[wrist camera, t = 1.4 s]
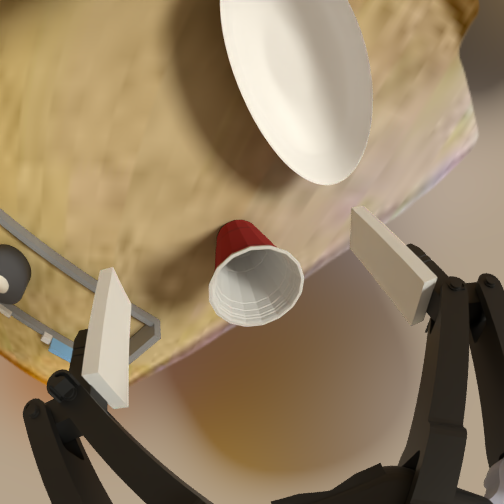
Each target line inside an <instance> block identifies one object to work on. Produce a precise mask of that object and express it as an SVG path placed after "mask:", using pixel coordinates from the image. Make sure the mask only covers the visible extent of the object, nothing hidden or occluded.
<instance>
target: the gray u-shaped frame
mask: <svg viewBox="0 0 504 504" xmlns="http://www.w3.org/2000/svg"><path fill="white" fill-rule="evenodd" d="M0 225H2V226H3V227H4V228H5V229H7V230H8V231H9V232H10V233H12V234H13V235H14V236H15V237H17V238H18V239H19V240H21V241H22V242H23V243H24V244H26V245H27V246H28V247H30V248H31V249H32V250H34V251H35V252H36V253H38V254H39V255H40V256H42V257H43V258H45V259H46V260H47V261H49V262H50V263H51V264H53V265H54V266H56V267H57V268H59V269H60V270H61V271H63V272H64V273H66V274H67V275H69V276H70V277H72V278H73V279H74V280H76V281H77V282H79V283H80V284H82V285H83V286H85V287H86V288H88V289H90V290H91V291H93V292H94V293H95V291H96V287H97V282H98V281H97V280H95V279H94V278H92V277H91V276H89V275H88V274H86V273H85V272H83V271H82V270H81V269H79V268H78V267H76V266H75V265H73V264H72V263H71V262H69V261H68V260H66V259H65V258H64V257H62V256H61V255H59V254H58V253H57V252H55V251H54V250H53V249H51V248H50V247H48V246H47V245H46V244H44V243H43V242H42V241H40V240H39V239H38V238H37V237H35V236H34V235H33V234H31V233H30V232H29V231H27V230H26V229H25V228H24V227H22V226H21V225H20V224H19V223H17V222H16V221H15V220H14V219H12V218H11V217H10V216H9V215H8V214H6V213H5V212H4V211H3V210H2V209H0ZM130 303H131V302H130ZM0 312H1V313H2V314H4V315H5V316H7V317H8V318H10V316H13V317H14V318H16V319H17V320H19V321H20V322H22V323H24V324H25V325H27V326H28V327H30V328H32V329H33V330H35V331H36V332H38V333H40V334H41V335H42V337H41V341H43V342H44V343H46V344H49V343H50V346H49V350H48V351H50V352H52V353H53V354H55V355H57V356H59V357H61V358H62V359H64V360H66V361H68V362H71V357H72V350H73V345H74V342H73V341H71V340H69V339H67V338H66V337H64V336H62V335H60V334H59V333H57V332H55V331H54V330H52V329H50V328H49V327H47V326H45V325H44V324H42V323H41V322H39V321H37V320H36V319H34V318H33V317H31V316H30V315H28V314H26V313H25V312H23V311H22V310H20V309H19V308H17V307H16V306H14V305H13V304H3V303H0ZM131 316H133V317H135V318H136V319H138V320H140V321H141V322H143V323H145V324H146V325H145V326H144V327H142V328H141V329H140V330H139V331H138V332H137V333H136V334H135V335H134V336H132V337H131V338H130V339H129V364H131V363H132V362H133V361H134V360H135V359H137V358H138V357H139V356H140V355H141V354H143V353H144V352H145V351H146V350H147V349H149V348H150V347H151V346H152V345H153V344H155V343H156V342H157V341H158V340H159V339H161V333H160V320H159V319H157V318H155V317H154V316H152V315H150V314H149V313H147V312H145V311H144V310H142V309H141V308H139V307H137V306H136V305H134V304H132V303H131Z"/></svg>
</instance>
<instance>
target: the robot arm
mask: <svg viewBox="0 0 504 504" xmlns="http://www.w3.org/2000/svg"><path fill="white" fill-rule="evenodd" d="M350 249H351V250H352V252H353V253H354V254H355V255H356V256H357V258H358V259H359V260H360V261H361V263H362V264H363V265H364V266H365V268H366V269H367V270H368V271H369V272H370V274H371V275H372V276H373V277H374V279H375V280H376V281H377V282H378V284H379V285H380V286H381V288H382V289H383V290H384V291H385V293H386V294H387V295H388V296H389V298H390V299H391V300H392V302H393V303H394V304H395V306H396V307H397V308H398V309H399V311H400V312H401V314H402V315H403V316H404V318H405V319H406V320H407V322H408V323H409V324H410V325H411V326H413V325H415V324H417V323H419V322H422V321H423V320H424V317H425V314H426V312H427V313H428V315H429V316H430V317H431V318H430V320H429V323H428V325H427V329H426V331H425V332H427V331H428V335H427V343H426V351H425V358H424V364H423V371H422V377H421V383H420V388H419V393H418V398H417V404H416V408H415V412H414V417H413V421H412V425H411V429H410V434H409V437H408V441H407V445H406V447H405V450H404V452H403V454H402V456H401V458H400V461H399V464H398V466H384V467H382V465H381V463H379V464H377V465H375V466H373V467H370V468H368V469H366V470H363V471H361V472H359V473H356V474H354V475H353V476H352V477H350V478H349V479H347V480H346V481H344V482H343V483H341V484H340V485H338V486H337V487H335V488H334V489H333V490H330V491H325V492H315V493H303V494H297V495H293V496H290V497H286V498H283V499H279V500H275V501H271V504H504V290H503V287H502V285H501V283H500V281H499V280H498V279H497V278H496V277H495V276H493V275H491V274H487V273H486V274H482V275H480V276H479V279H478V281H477V282H474V283H465V282H464V281H463V280H461V279H460V278H457V277H451V276H450V277H448V276H447V275H446V274H445V273H444V272H443V271H442V270H441V269H440V268H439V267H438V266H437V265H436V263H435V262H434V261H432V260H431V259H430V258H429V257H428V256H426V254H425V253H424V252H423V251H422V250H421V249H420V248H419V247H417V246H415V245H413V244H408V245H405V244H404V243H403V242H402V241H401V240H400V239H399V238H398V237H397V236H396V235H395V234H394V233H392V231H391V230H390V229H388V228H387V227H386V226H385V225H384V224H383V223H382V222H381V221H380V220H379V219H378V218H377V217H376V216H375V215H373V214H372V213H371V212H370V211H369V210H368V209H367V208H366V207H365V206H363V205H362V206H358V207H353V208H351V234H350ZM130 319H131V303H130V301H129V299H128V297H127V295H126V293H125V291H124V289H123V287H122V285H121V283H120V281H119V279H118V276H117V274H116V272H115V270H114V268H113V267H111V268H107V269H103V270H100V273H99V278H98V282H97V287H96V291H95V296H94V301H93V306H92V311H91V316H90V322H89V327H88V329H85V330H80V331H79V333H78V334H77V336H76V338H75V340H74V345H73V350H72V357H71V362H70V368H69V371H67V370H63V369H62V370H58V371H56V372H55V373H53V374H52V375H51V377H50V378H49V380H48V382H47V391H48V393H49V394H50V395H51V396H52V397H53V398H54V399H53V400H50V401H48V402H46V403H44V402H43V401H41V400H40V399H32V400H30V401H29V402H28V403H27V404H26V406H25V407H24V411H23V418H24V423H25V426H26V430H27V434H28V438H29V441H30V444H31V448H32V451H33V454H34V457H35V460H36V463H37V466H38V469H39V472H40V474H41V477H42V480H43V483H44V486H45V488H46V491H47V493H48V496H49V498H50V500H51V503H52V504H113V503H112V502H111V500H110V498H109V497H108V495H107V493H106V491H105V489H104V488H103V486H102V484H101V482H100V480H99V478H98V476H97V474H96V472H95V470H94V468H93V466H92V465H91V462H90V460H89V458H88V456H87V454H86V452H85V449H84V447H83V445H82V443H81V440H80V438H79V437H81V436H84V437H85V438H86V439H87V441H88V442H89V443H90V444H91V445H92V447H93V448H94V449H95V450H96V451H97V452H98V454H99V455H100V456H101V457H102V458H103V459H104V461H105V462H106V463H107V464H108V465H109V466H110V467H111V468H112V470H113V471H114V472H115V473H116V474H117V475H118V476H119V477H120V478H121V479H122V480H123V481H124V482H125V483H126V484H127V485H128V486H129V487H130V488H131V489H132V490H133V491H134V492H135V493H136V494H137V495H138V496H139V497H140V498H141V499H142V500H143V501H144V502H145V503H146V504H213V503H212V502H211V501H209V500H207V499H206V498H205V497H204V496H202V495H201V494H200V493H198V492H197V491H196V490H194V489H193V488H192V487H190V486H189V485H188V484H186V483H185V482H184V481H182V480H181V479H180V478H179V477H178V476H176V475H175V474H174V473H173V472H172V471H170V470H169V469H168V468H167V467H166V466H164V465H163V464H162V463H161V462H160V461H159V460H157V459H156V458H155V457H154V456H153V455H152V454H151V453H150V452H149V451H147V450H146V449H145V448H144V447H143V446H142V445H141V444H140V443H139V442H138V441H137V440H135V438H133V437H132V436H131V434H129V433H128V432H127V431H126V430H125V429H124V428H123V427H122V426H121V425H120V423H119V422H117V420H115V418H114V417H113V416H112V415H111V414H110V413H109V412H108V411H107V403H108V404H109V405H110V406H111V407H112V408H113V409H117V408H124V407H129V401H128V376H129V339H130ZM469 345H470V349H471V354H472V359H473V363H474V368H475V373H476V379H477V384H478V390H479V396H480V402H481V409H482V417H483V426H484V435H485V446H486V454H487V459H488V464H489V468H490V469H489V471H488V473H487V476H486V478H485V480H484V487H485V488H486V494H485V496H484V497H483V496H480V495H477V494H474V493H471V492H468V491H465V490H462V489H460V488H457V484H458V480H459V476H460V471H461V467H462V462H463V456H464V451H465V445H466V439H467V430H466V429H465V428H464V427H463V419H464V411H465V403H466V402H465V401H466V391H467V379H468V362H469Z"/></svg>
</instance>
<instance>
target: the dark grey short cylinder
mask: <svg viewBox="0 0 504 504" xmlns="http://www.w3.org/2000/svg"><path fill="white" fill-rule="evenodd" d="M30 277H31V268H30V265H29V262H28V261H27V259H26V257H25V256H24V255H23V254H22V253H21V252H20V251H19V250H18V249H16V248H14V247H12V246H10V245H5V244H1V245H0V303H3V304H15V303H17V302H19V301H20V299H21V298H22V296H23V294H24V291H25V289H26V287H27V285H28V282H29V280H30Z"/></svg>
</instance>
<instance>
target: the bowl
mask: <svg viewBox="0 0 504 504" xmlns="http://www.w3.org/2000/svg"><path fill="white" fill-rule="evenodd" d="M220 16H221V25H222V32H223V37H224V42H225V46H226V51H227V54H228V58H229V62H230V65H231V68H232V71H233V74H234V77H235V80H236V82H237V85H238V87H239V90H240V92H241V95H242V97H243V99H244V101H245V103H246V106H247V108H248V110H249V112H250V114H251V115H252V117H253V119H254V121H255V123H256V125H257V126H258V128H259V130H260V131H261V133H262V134H263V136H264V137H265V139H266V140H267V142H268V143H269V145H270V146H271V147H272V149H273V150H274V151H275V152H276V154H277V155H278V156H279V157H280V158H281V159H282V161H283V162H284V163H285V164H286V165H287V166H288V167H290V168H291V169H292V170H293V171H294V172H295V173H297V174H298V175H299V176H301V177H303V178H304V179H306V180H308V181H310V182H313V183H316V184H320V185H332V184H336V183H339V182H341V181H343V180H344V179H346V178H347V177H348V176H349V175H350V174H351V173H352V172H353V171H354V170H355V168H356V167H357V165H358V164H359V162H360V160H361V158H362V156H363V153H364V151H365V148H366V145H367V142H368V138H369V134H370V128H371V122H372V110H373V89H372V77H371V70H370V64H369V58H368V54H367V50H366V46H365V42H364V39H363V36H362V32H361V30H360V27H359V24H358V22H357V19H356V17H355V15H354V12H353V10H352V8H351V6H350V4H349V2H348V0H220Z"/></svg>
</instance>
